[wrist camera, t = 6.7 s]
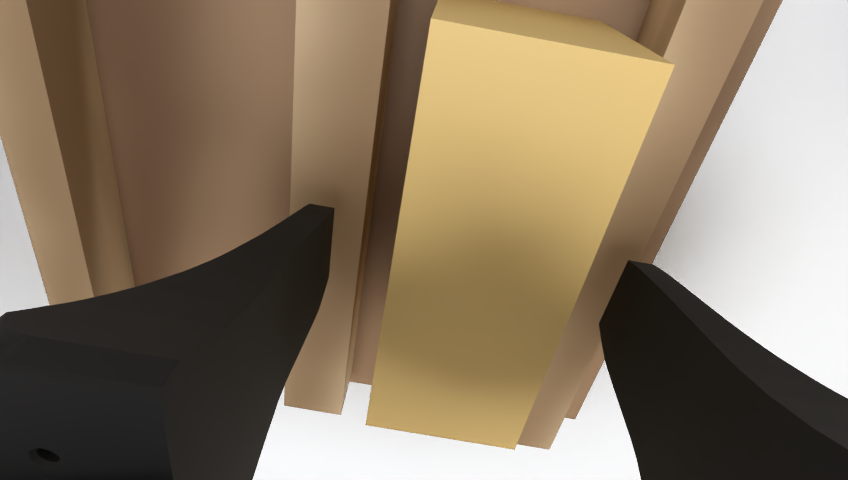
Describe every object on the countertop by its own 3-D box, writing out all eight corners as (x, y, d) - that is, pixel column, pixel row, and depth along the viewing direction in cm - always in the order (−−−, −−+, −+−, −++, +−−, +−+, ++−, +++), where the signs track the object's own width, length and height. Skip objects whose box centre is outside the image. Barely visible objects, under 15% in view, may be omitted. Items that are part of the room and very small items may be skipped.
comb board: (84, 316, 20) (28, 372, 17) (-60, -259, 11) (-215, -318, 9) (570, 399, 21) (585, 464, 18) (799, -85, 12) (892, -92, 9)
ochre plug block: (384, 331, 18) (361, 453, 14) (441, -10, 12) (430, 18, 8) (493, 349, 18) (503, 476, 14) (600, 20, 12) (675, 64, 8)
